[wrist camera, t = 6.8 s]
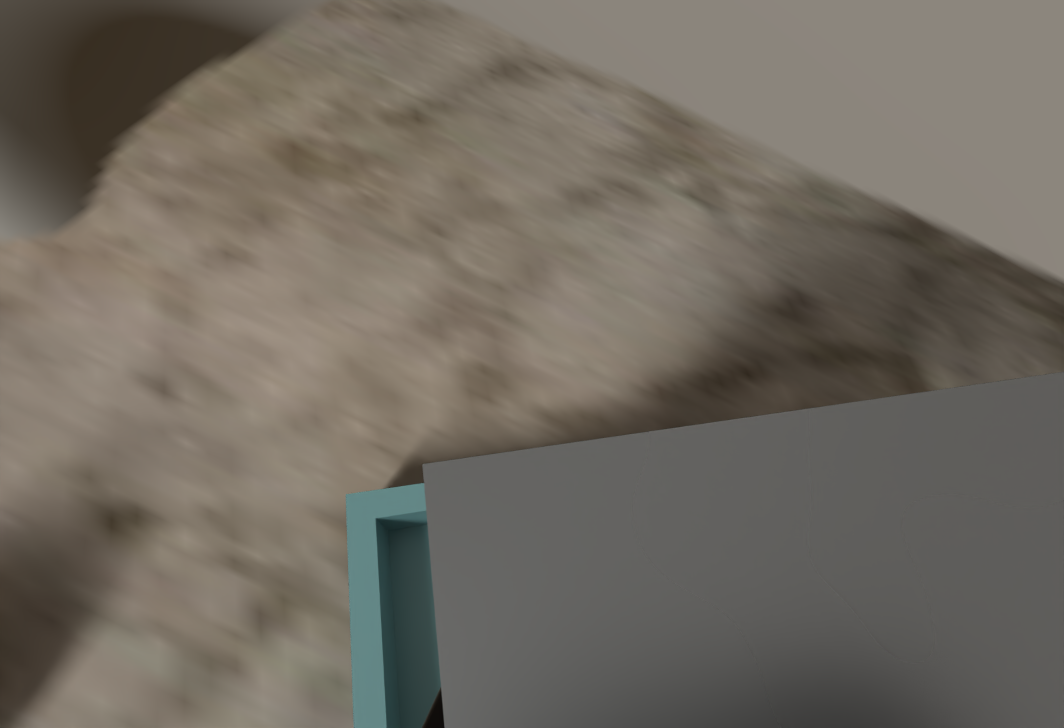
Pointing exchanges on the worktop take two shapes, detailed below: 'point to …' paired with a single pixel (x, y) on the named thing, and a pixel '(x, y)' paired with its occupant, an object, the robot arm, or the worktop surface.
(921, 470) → the plate
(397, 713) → the parts tray
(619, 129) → the worktop surface
